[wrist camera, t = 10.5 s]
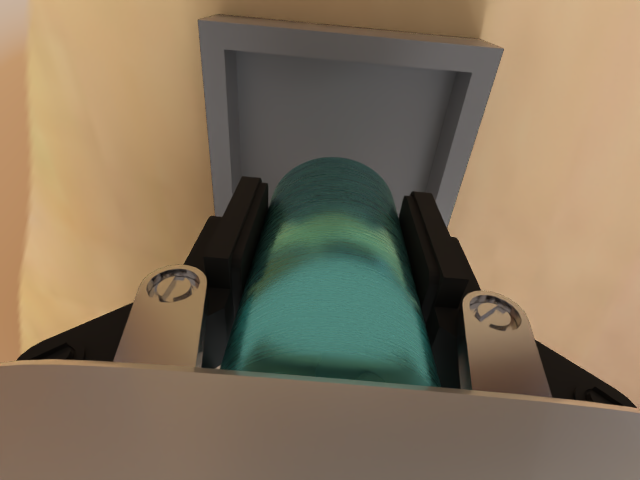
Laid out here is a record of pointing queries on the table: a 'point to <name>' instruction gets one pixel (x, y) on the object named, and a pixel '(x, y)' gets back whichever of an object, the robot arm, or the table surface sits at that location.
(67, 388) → the robot arm
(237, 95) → the tray
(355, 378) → the cylinder
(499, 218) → the table surface
